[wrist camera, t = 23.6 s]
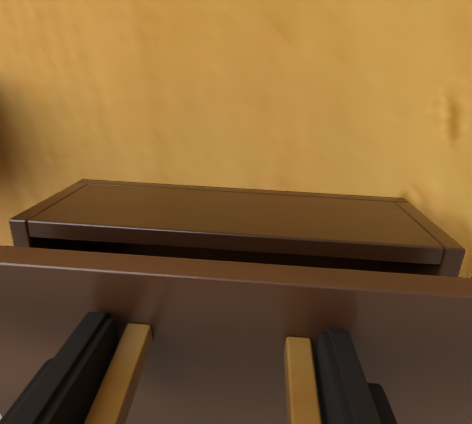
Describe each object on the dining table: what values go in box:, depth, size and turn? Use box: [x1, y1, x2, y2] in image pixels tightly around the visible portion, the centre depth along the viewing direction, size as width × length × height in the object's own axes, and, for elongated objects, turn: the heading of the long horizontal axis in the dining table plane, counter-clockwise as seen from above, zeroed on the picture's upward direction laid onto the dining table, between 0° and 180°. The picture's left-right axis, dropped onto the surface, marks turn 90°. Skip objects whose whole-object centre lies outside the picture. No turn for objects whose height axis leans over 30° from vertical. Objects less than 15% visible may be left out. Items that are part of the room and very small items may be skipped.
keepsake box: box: [9, 179, 465, 277], centre depth 18 cm, size 15×16×6 cm
